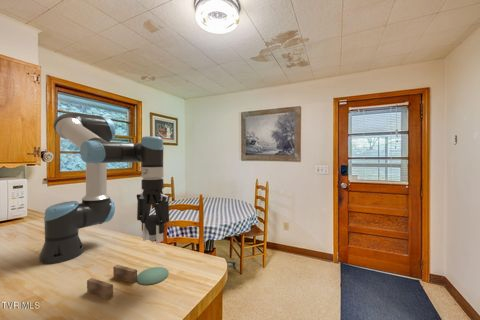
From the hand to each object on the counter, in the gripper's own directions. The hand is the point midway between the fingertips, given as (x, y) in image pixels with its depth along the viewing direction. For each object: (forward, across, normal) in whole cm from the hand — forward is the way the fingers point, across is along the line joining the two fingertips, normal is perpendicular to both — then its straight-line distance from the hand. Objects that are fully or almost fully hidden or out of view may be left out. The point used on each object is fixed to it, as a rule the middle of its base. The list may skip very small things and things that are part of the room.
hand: (153, 240), depth 80 cm
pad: (+13, 0, 0) cm, 13 cm away
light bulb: (+1, 0, 0) cm, 1 cm away
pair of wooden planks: (+13, -8, -10) cm, 19 cm away
